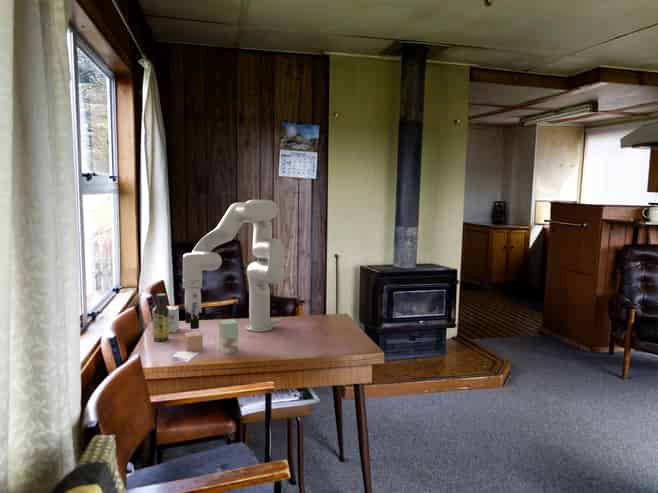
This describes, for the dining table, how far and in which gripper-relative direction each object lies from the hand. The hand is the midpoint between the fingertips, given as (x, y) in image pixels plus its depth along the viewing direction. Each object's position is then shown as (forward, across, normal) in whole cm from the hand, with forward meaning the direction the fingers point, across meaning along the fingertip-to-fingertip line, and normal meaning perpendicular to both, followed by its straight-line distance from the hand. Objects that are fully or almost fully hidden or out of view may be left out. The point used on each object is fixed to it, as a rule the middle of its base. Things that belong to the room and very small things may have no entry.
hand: (192, 325), depth 199 cm
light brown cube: (+10, 0, -1) cm, 10 cm away
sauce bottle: (+10, +17, +9) cm, 22 cm away
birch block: (+9, -9, -13) cm, 18 cm away
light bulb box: (+10, +31, +5) cm, 33 cm away
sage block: (+3, -9, -13) cm, 16 cm away
